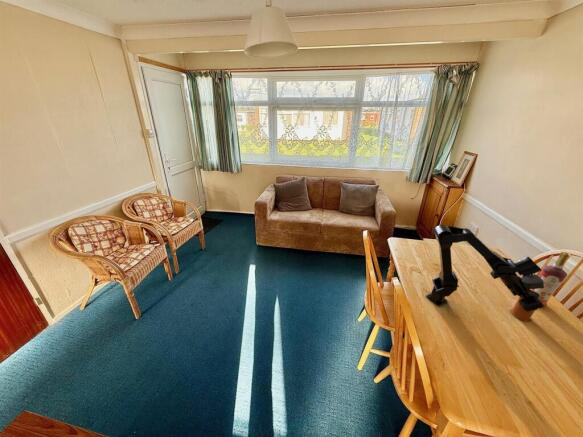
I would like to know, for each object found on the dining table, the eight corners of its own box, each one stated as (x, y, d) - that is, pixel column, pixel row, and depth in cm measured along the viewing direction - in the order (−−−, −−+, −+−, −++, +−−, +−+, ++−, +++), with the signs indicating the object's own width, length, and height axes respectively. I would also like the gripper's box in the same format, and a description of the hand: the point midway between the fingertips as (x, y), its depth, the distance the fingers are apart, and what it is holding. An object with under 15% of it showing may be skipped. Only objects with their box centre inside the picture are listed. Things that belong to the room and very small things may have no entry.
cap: (534, 302, 95) (536, 297, 94) (522, 295, 98) (525, 291, 97) (539, 299, 96) (541, 294, 95) (527, 293, 99) (530, 288, 98)
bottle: (524, 322, 98) (538, 301, 93) (508, 312, 103) (520, 291, 98) (532, 318, 100) (545, 296, 95) (515, 308, 105) (527, 287, 100)
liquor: (545, 302, 109) (577, 253, 96) (546, 311, 104) (580, 261, 92) (525, 294, 113) (552, 246, 101) (524, 302, 108) (554, 253, 96)
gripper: (549, 286, 84) (571, 314, 86) (520, 258, 101) (539, 282, 102) (514, 298, 90) (536, 324, 92) (492, 269, 106) (511, 292, 108)
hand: (531, 304), depth 98 cm, fingers closed on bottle, 6 cm apart
